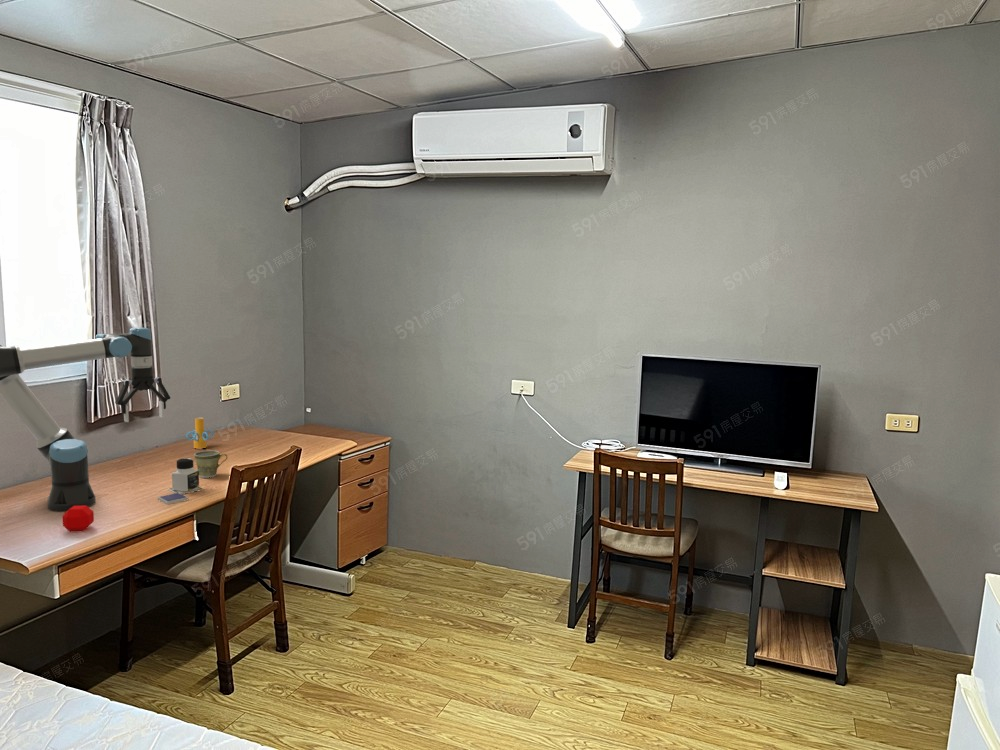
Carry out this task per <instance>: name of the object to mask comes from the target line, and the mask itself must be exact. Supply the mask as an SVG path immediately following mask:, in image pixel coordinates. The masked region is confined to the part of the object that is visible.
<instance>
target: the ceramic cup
mask: <svg viewBox="0 0 1000 750" xmlns="http://www.w3.org/2000/svg"><path fill="white" fill-rule="evenodd" d="M220 452H221V451H218V450H211V449H210V450H201V451H200V450H199V451H197V452H195V453H194V454H193V455H194V460H195V463H196V467H197V470H199V478H200V477H202V479H212V478H215V477H214V476H216V477H217V473H218V469H219V467H220V466H221V465H223V463H224V462H225V461H227V460H228V455H227V454H226V453H220ZM223 456H224V457H226V458H225V459H224V460H222V461H221V463H220V464H219V461H220V460H221V458H222V457H223ZM209 477H210V478H209ZM211 477H212V478H211Z"/></svg>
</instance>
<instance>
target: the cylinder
mask: <svg viewBox="0 0 1000 750" xmlns="http://www.w3.org/2000/svg"><path fill="white" fill-rule="evenodd" d="M194 422H195V423H194V426H195V427H194V428H195V429H193V430H192V431H188V432H186V439H187V440H188V441H193V449H194V448H206V447H207V448H208V440H210V439H212V438H213V437H214V432H213V431H212V430H205V418H204V417H196V418H194ZM208 433H211V436H209V434H208ZM190 434H191V435H192V438H190V437H189V436H190ZM207 448H206V449H207Z"/></svg>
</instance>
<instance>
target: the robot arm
mask: <svg viewBox="0 0 1000 750" xmlns="http://www.w3.org/2000/svg"><path fill="white" fill-rule="evenodd" d="M151 333H152V332H151V329H150V328H147V327H132V328H130V329H129V332H127V333H100V334H99V333H98V334H96V335H95V337H94V338H93V339H88V340H87V339H86V340H79V341H69V342H62V343H55V344H45V345H38V346H28V347H22V348H20V347H19V346H18V345H13V346H3V345H1V344H0V396H1V398H2V399H3V400H4V401H5V403H6V404H7V405H8V406H9V408H10V409H11V410H12V411H13V412H14V414H15V415H16V416H17V418H18V419H19V420H20V422H21V423H22V424H23V425H24V426H25V427H26V428H27V430H28V431H29V433H31V435H32V436H33V438H34V439H35V440H36V445H35V447H36V448H37V449H38V451H39V452H40V454H42V456H43V457H44V459H46V462H48V465H49V466H50V476H51V489H50V492H49V496H48V498H47V503H46V504H47V509H48V510H49V511H53V512H67V511H68V510H69V509H70V508H72V507H73V506H85V505H86V506H88V507H89V508H90V507H92V506H93V505H95V504H96V495H95V492H94V491H93V488H92V485H91V484H90V477H89V476H90V475H89V462H88V460H89V459H88V457H89V456H88V453H89V451H88V450H89V449H88V446H87V442H85V441H84V440H81V439H76V438H75V437H74V435H72V433H71V432H70V431H69V430H68V428H66V427H60V426H59V424H58V423H57V422H56V420H55V418H53V416H52V415H51V414H50V413H49V411H48V410H47V409H46V408H45V406H44V404H42V403H41V401H40V400H39V399H38V398H37V396H36V395H35V393H34V392H33V391H32V390H31V389H30V387H29V386H28V384H27V383H26V382H25V380H24V379H22V377H21V375H20V374H23V373H24V372H25V371H26V370H27V371H28V370H33V369H39V368H47V367H53V366H59V365H68V364H74V363H82V362H88V361H95V360H102V359H109V358H110V359H112V358H119V359H120V358H125V357H128V355H130V366H131V367H132V368H131V380H127V379H124V380H123V381H122V387H121V389H120V391H119V394H118V395H117V398H116V400H115V404H116V405H119V406H120V413H121V414H122V415H123V421H124V422H125V423H129V422H130V417H129V416H130V415H129V405H128V403H129V402H130V400H131V399H132V398H133V397H134V396H135V394H137V392H138V391H139V392H141V391H149V390H150V391H151V393H153V394H154V396H156V397H157V398H158V399H159V400H160V401H159V400H158V414H159V415H158V416H159V418H163V419H164V418H165V410H166V408H167V401H168V400H171V396H170V394H169V392H168V391H167V389H166V388H165V386H164V384H163V382H162V380H163V379H162V378H161V377H159V376H156V377H155V378H154V372H153V371H154V370H153V367H152V366H153V351H152V350H153V348H152V347H153V346H152V334H151ZM154 382H155V384H156V385H157V387H158V388H159V390H160V391H158V389H156V387H154V385H153V384H154ZM130 385H132V386H131V388H130V390H129V387H130ZM128 390H129V391H128ZM127 391H128V393H127Z"/></svg>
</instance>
